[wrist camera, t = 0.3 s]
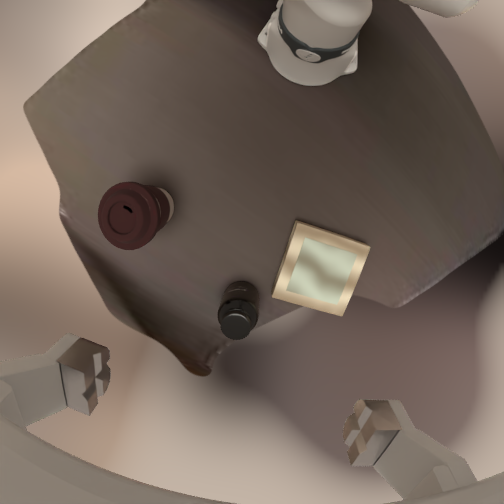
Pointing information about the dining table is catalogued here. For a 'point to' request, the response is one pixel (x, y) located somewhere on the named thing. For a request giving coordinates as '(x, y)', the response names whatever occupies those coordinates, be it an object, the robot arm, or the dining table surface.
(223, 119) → the dining table surface
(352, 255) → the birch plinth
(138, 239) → the coffee cup
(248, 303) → the supplement bottle
